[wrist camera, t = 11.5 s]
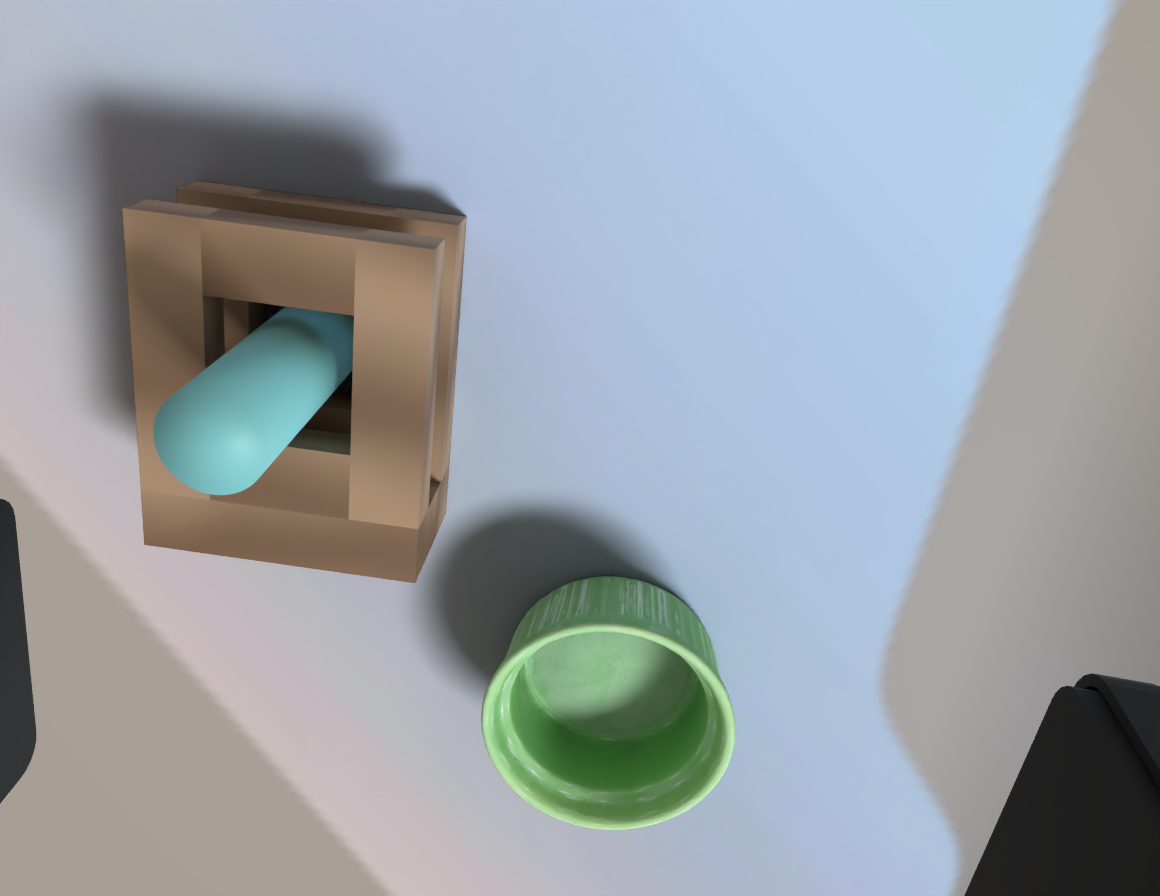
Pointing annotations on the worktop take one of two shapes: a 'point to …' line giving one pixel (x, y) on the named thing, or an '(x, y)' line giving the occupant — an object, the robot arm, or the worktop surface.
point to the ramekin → (609, 706)
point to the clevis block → (346, 420)
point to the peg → (253, 400)
